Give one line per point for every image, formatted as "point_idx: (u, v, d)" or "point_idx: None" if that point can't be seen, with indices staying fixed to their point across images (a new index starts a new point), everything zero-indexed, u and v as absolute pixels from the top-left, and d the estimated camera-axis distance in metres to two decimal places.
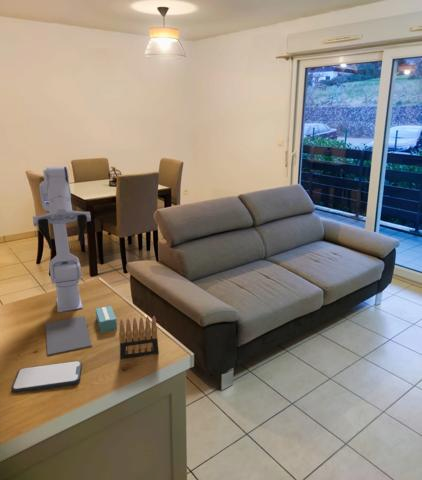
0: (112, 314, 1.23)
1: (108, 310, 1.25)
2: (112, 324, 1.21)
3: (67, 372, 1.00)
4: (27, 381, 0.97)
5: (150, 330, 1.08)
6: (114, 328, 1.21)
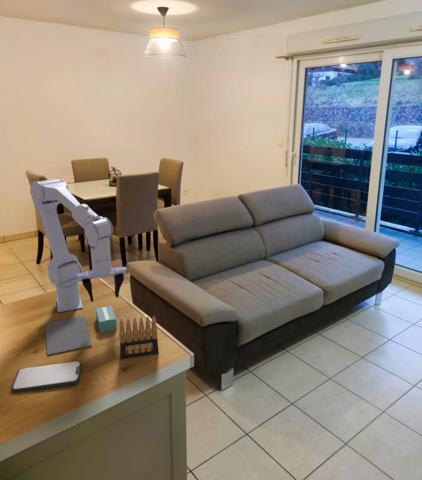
0: (112, 314, 1.23)
1: (108, 310, 1.25)
2: (112, 324, 1.21)
3: (67, 372, 1.00)
4: (27, 381, 0.97)
5: (150, 330, 1.08)
6: (114, 328, 1.21)
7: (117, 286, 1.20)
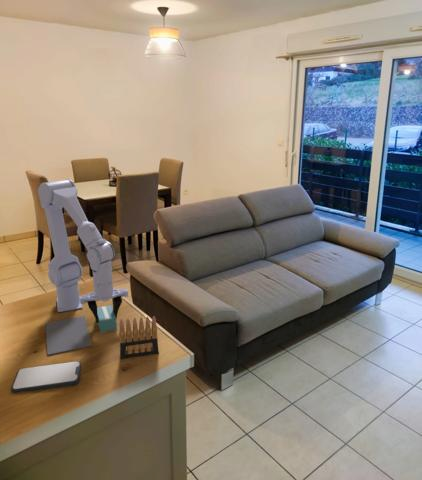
0: (112, 313, 1.23)
1: (108, 309, 1.25)
2: (112, 324, 1.21)
3: (67, 372, 1.00)
4: (27, 381, 0.97)
5: (150, 330, 1.08)
6: (114, 327, 1.21)
7: (115, 308, 1.22)
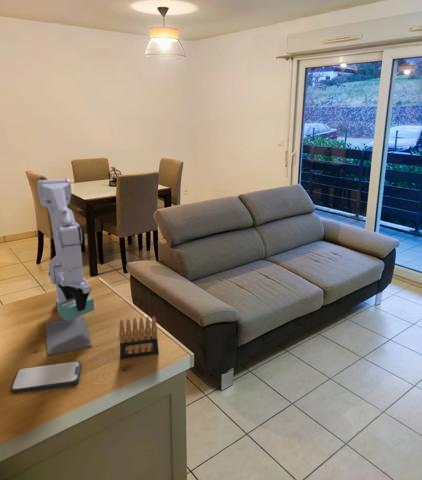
0: (74, 304, 1.15)
1: None
2: (64, 313, 1.13)
3: (66, 372, 1.00)
4: (26, 381, 0.97)
5: (150, 330, 1.08)
6: (66, 318, 1.13)
7: (75, 299, 1.13)
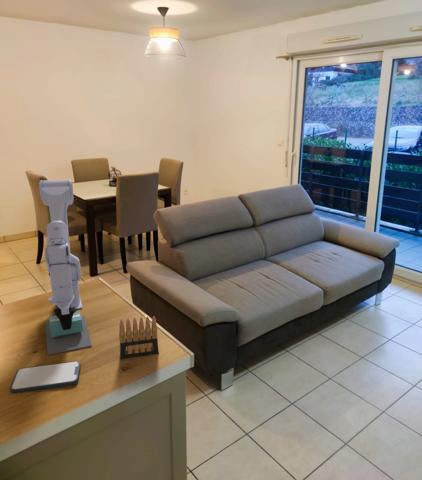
0: (60, 322, 1.14)
1: None
2: (50, 329, 1.14)
3: (66, 372, 1.00)
4: (26, 381, 0.97)
5: (150, 330, 1.08)
6: None
7: None
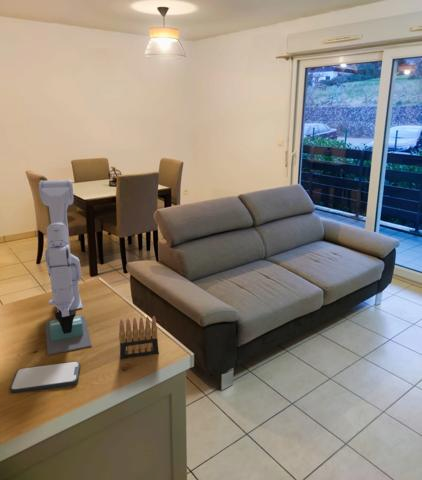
0: None
1: None
2: None
3: (65, 372, 1.00)
4: (26, 381, 0.97)
5: (150, 330, 1.08)
6: (51, 337, 1.15)
7: None
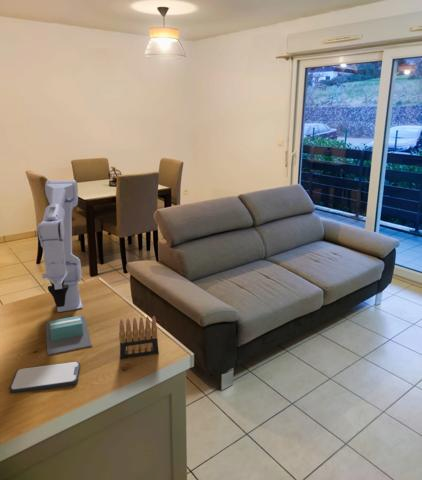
0: (61, 326, 1.15)
1: (71, 323, 1.17)
2: None
3: (65, 373, 1.00)
4: (25, 381, 0.97)
5: (150, 330, 1.08)
6: (51, 337, 1.15)
7: None
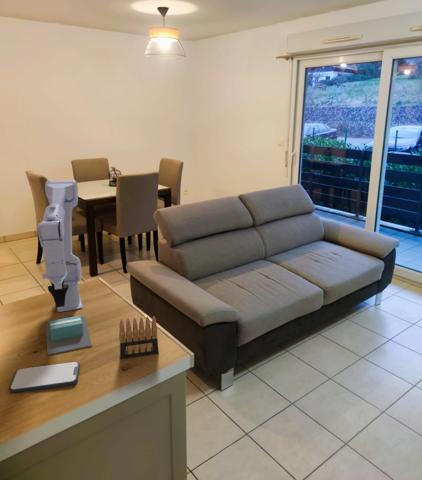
0: (61, 326, 1.15)
1: (71, 323, 1.17)
2: None
3: (65, 373, 1.00)
4: (25, 381, 0.97)
5: (150, 330, 1.08)
6: (51, 337, 1.15)
7: None
